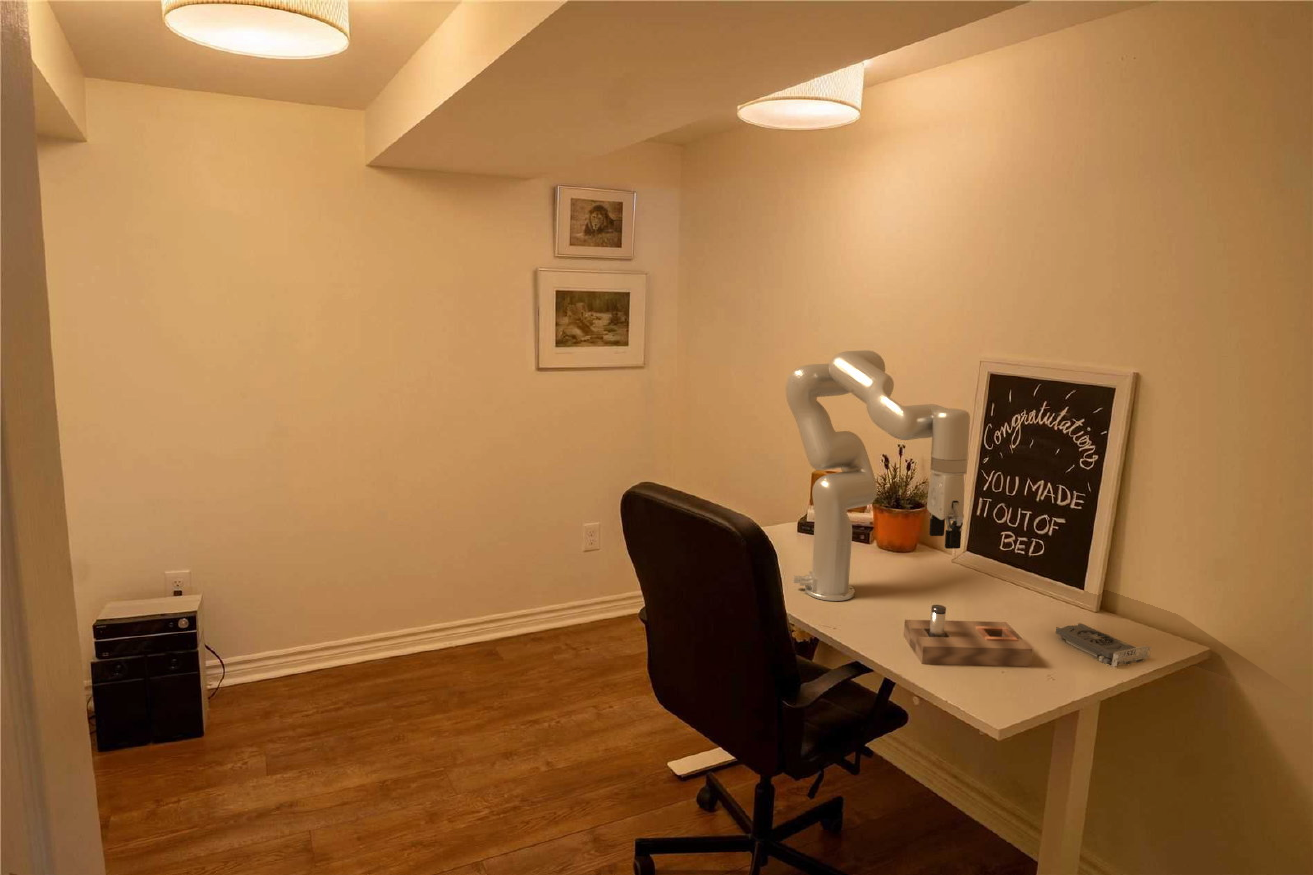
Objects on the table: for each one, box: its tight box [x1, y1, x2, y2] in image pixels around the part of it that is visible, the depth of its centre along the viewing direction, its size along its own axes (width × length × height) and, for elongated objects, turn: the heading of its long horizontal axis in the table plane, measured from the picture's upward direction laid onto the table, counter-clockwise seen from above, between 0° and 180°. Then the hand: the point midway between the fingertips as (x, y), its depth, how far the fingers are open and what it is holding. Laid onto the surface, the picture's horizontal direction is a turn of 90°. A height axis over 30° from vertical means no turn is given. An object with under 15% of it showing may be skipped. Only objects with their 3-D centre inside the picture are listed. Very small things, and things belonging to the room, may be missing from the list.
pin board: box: [903, 619, 1033, 668], centre depth 182 cm, size 23×14×4 cm, turn 89°
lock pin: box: [929, 604, 947, 637], centre depth 181 cm, size 3×3×10 cm
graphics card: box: [1055, 622, 1152, 669], centre depth 185 cm, size 17×4×12 cm
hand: (944, 541), depth 182 cm, fingers open, 9 cm apart
